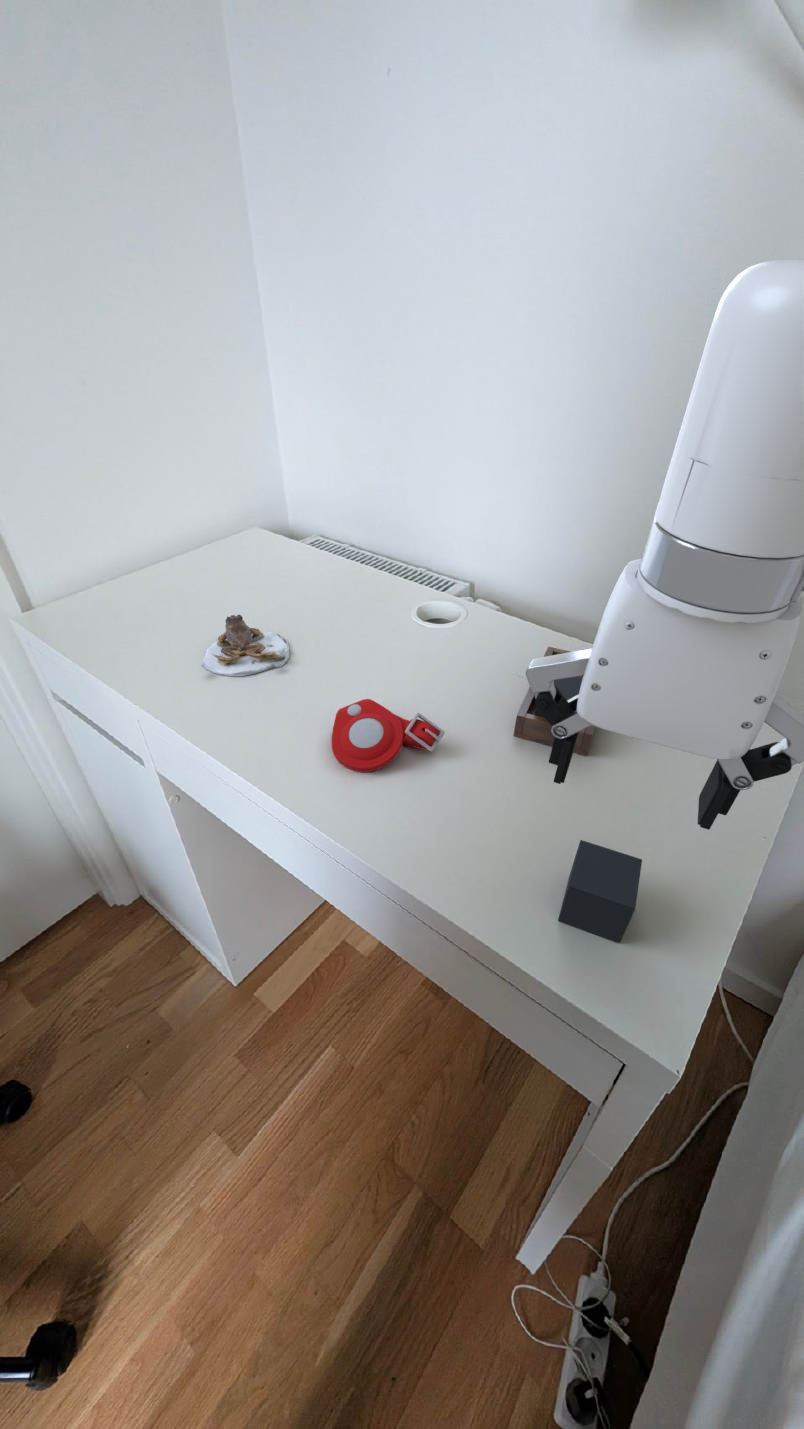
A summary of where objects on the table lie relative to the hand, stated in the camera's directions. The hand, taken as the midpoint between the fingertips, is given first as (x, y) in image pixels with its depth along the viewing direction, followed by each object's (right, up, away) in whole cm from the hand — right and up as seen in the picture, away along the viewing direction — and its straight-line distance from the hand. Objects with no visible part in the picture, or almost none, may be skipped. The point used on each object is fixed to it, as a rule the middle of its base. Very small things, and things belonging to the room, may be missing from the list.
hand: (630, 791), depth 41 cm
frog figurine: (-38, +14, +40) cm, 57 cm away
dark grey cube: (+2, +5, +27) cm, 28 cm away
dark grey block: (0, -11, +9) cm, 14 cm away
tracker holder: (-18, +1, +24) cm, 31 cm away
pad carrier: (+4, +6, +30) cm, 31 cm away
